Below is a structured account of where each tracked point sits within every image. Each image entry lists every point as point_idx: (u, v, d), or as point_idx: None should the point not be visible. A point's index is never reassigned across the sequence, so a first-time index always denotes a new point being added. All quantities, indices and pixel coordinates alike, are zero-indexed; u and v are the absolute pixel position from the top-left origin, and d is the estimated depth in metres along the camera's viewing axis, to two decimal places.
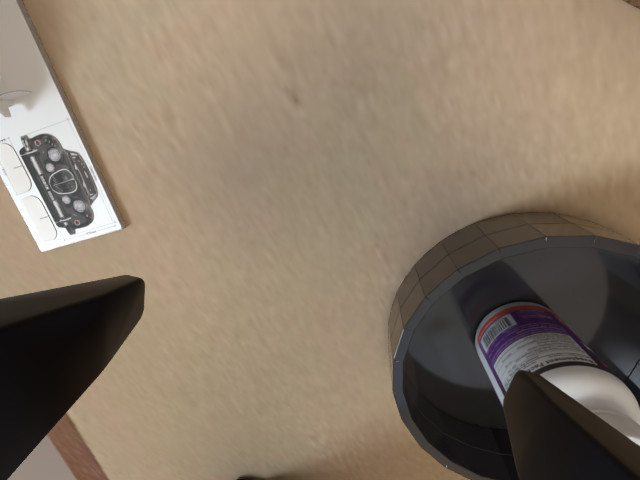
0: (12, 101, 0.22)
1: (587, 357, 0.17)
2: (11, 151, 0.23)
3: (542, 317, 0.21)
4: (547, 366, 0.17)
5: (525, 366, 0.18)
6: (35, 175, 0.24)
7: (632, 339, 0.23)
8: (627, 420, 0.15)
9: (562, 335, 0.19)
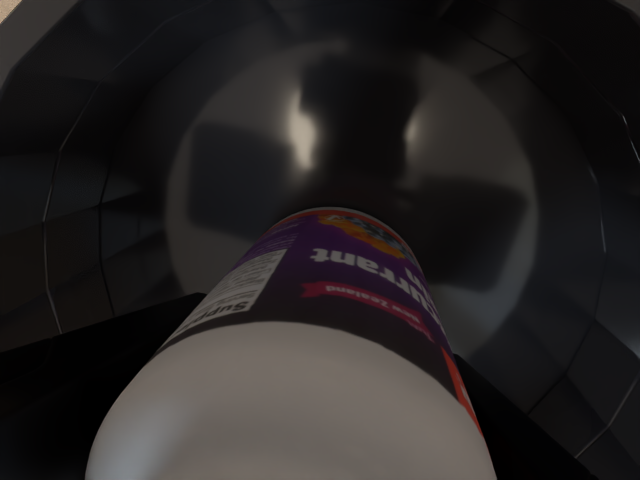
0: None
1: (245, 296, 0.05)
2: None
3: (270, 236, 0.09)
4: None
5: None
6: None
7: (552, 171, 0.10)
8: None
9: (260, 258, 0.07)
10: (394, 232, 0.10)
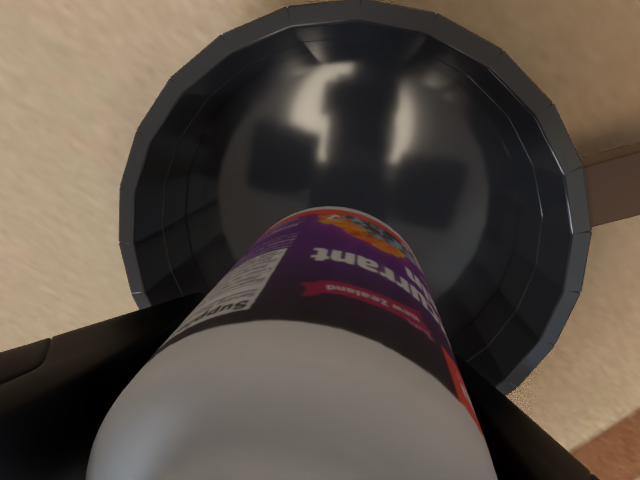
0: None
1: (246, 295, 0.05)
2: None
3: (270, 235, 0.09)
4: None
5: None
6: None
7: (482, 151, 0.15)
8: None
9: (260, 257, 0.07)
10: (394, 231, 0.10)
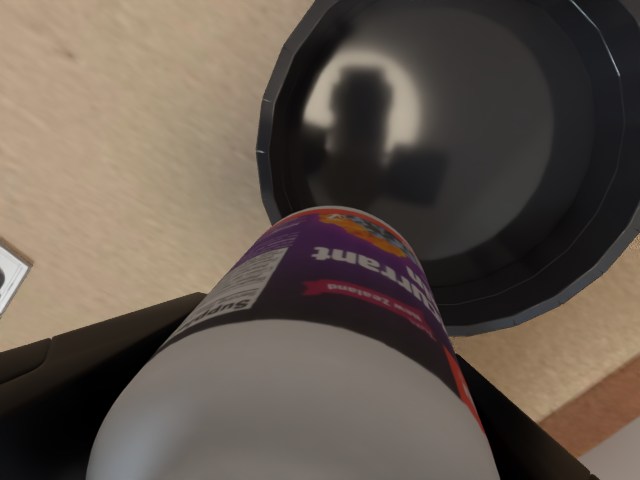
0: None
1: (246, 294, 0.05)
2: None
3: (271, 234, 0.09)
4: None
5: None
6: None
7: (564, 74, 0.17)
8: None
9: (261, 256, 0.07)
10: (395, 231, 0.10)
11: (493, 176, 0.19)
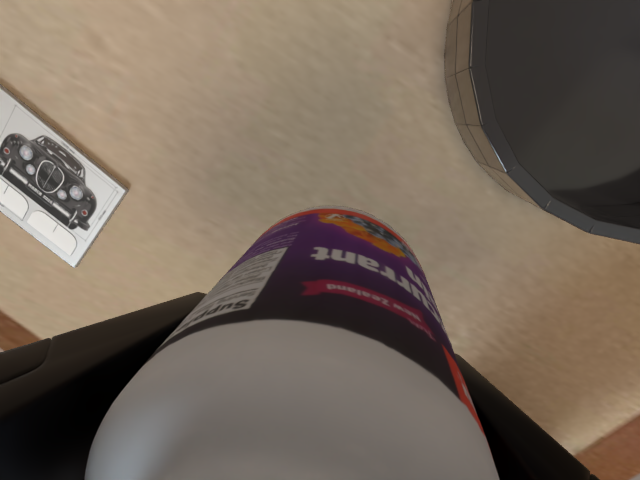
0: None
1: (246, 294, 0.05)
2: None
3: (270, 234, 0.09)
4: None
5: None
6: (24, 188, 0.22)
7: None
8: None
9: (260, 256, 0.07)
10: (394, 231, 0.10)
11: None
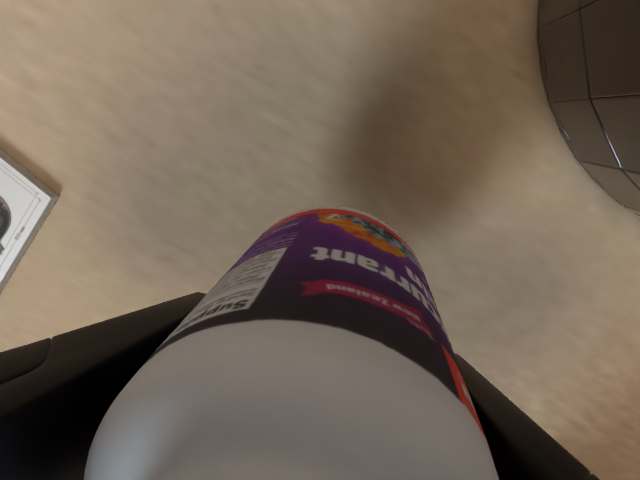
0: None
1: (245, 294, 0.05)
2: None
3: (270, 234, 0.09)
4: None
5: None
6: None
7: None
8: None
9: (259, 256, 0.07)
10: (394, 231, 0.10)
11: None
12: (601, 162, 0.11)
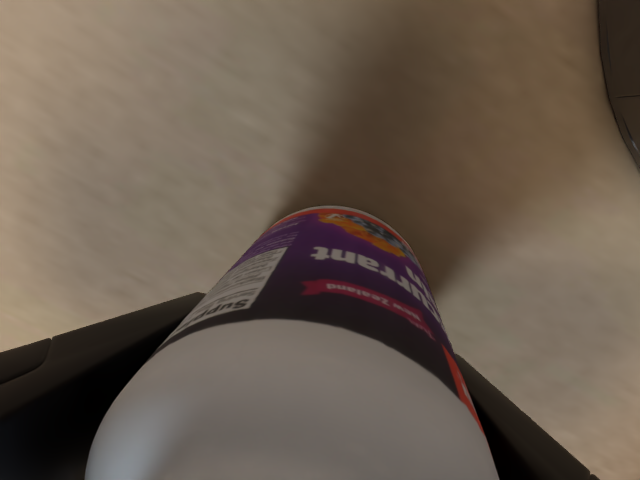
0: None
1: (245, 294, 0.05)
2: None
3: (270, 234, 0.09)
4: None
5: None
6: None
7: None
8: None
9: (260, 256, 0.07)
10: (394, 231, 0.10)
11: None
12: None
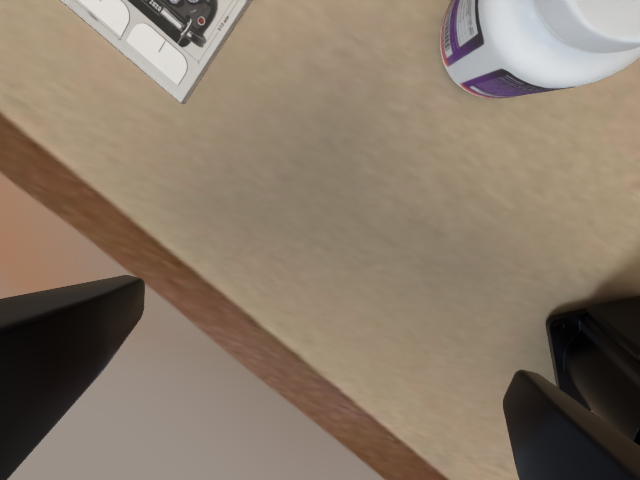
0: None
1: None
2: None
3: None
4: None
5: None
6: None
7: None
8: None
9: None
10: None
11: None
12: None
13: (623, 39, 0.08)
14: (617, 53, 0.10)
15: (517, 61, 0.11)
